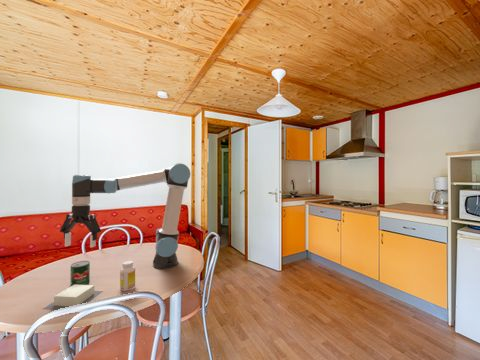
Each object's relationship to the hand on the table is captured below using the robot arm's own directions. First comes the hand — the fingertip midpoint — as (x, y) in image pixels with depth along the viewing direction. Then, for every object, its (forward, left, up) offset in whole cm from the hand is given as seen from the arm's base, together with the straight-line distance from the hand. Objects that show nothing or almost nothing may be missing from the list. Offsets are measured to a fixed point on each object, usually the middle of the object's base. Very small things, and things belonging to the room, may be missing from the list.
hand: (80, 246), depth 107 cm
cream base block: (-9, +13, -19) cm, 25 cm away
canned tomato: (0, 0, -20) cm, 20 cm away
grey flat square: (-9, +13, -20) cm, 25 cm away
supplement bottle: (-26, +1, -20) cm, 33 cm away
